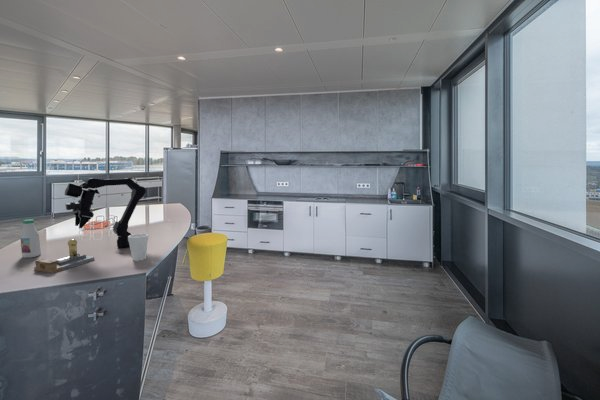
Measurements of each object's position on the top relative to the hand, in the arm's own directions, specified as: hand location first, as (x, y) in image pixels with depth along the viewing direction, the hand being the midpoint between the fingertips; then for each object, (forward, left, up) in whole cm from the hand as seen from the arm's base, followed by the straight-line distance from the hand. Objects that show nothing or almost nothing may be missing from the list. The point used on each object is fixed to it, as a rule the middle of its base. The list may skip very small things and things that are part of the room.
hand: (78, 227), depth 169 cm
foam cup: (-29, +23, -16) cm, 40 cm away
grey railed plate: (+4, +17, -16) cm, 24 cm away
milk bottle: (+23, -7, -16) cm, 29 cm away
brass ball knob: (+3, +17, -14) cm, 22 cm away
